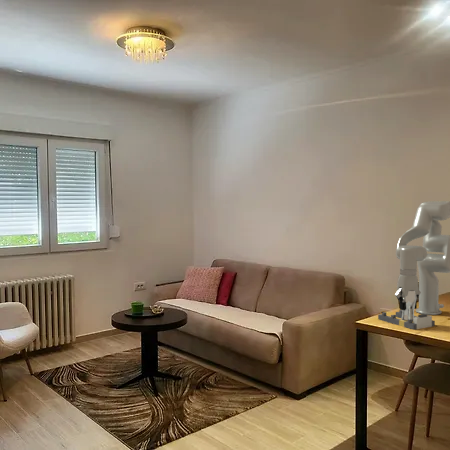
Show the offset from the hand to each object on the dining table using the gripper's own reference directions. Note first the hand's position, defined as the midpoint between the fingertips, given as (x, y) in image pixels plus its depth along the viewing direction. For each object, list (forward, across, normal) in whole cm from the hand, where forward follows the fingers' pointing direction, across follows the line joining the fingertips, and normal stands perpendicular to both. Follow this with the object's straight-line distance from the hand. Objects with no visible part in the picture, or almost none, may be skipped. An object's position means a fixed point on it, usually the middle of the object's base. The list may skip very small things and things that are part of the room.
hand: (408, 308), depth 219 cm
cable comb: (+7, 0, -1) cm, 7 cm away
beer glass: (+6, 0, 0) cm, 6 cm away
